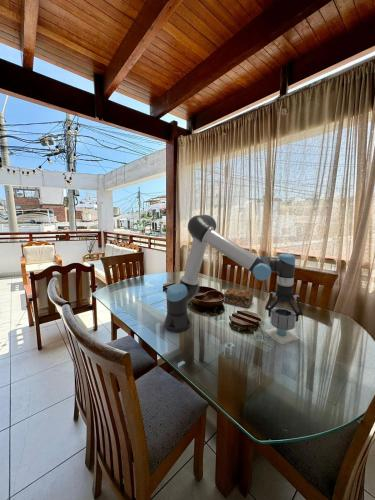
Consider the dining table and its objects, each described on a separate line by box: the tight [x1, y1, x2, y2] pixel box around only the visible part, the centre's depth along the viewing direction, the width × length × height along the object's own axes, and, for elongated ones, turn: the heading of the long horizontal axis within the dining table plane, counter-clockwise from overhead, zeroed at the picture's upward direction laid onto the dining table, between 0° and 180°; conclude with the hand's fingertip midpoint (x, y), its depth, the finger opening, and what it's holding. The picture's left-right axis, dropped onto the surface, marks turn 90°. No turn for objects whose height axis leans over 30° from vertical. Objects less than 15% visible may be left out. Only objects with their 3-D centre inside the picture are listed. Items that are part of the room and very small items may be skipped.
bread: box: [223, 287, 254, 309], centre depth 154 cm, size 19×11×10 cm, turn 58°
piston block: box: [264, 327, 300, 345], centre depth 114 cm, size 12×12×7 cm
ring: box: [270, 307, 295, 331], centre depth 113 cm, size 10×10×7 cm
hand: (282, 324), depth 113 cm, fingers closed on ring, 10 cm apart
